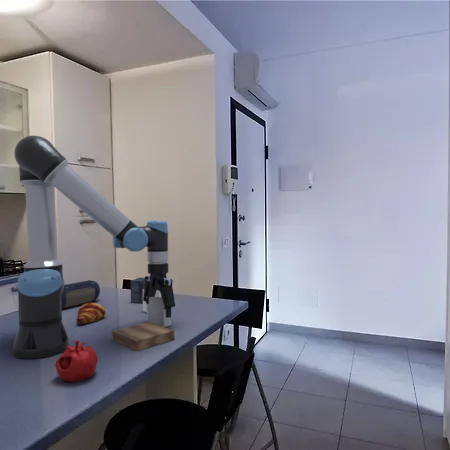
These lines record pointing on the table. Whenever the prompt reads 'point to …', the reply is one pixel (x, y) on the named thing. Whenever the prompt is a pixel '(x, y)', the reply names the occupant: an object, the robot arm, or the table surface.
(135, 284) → the box
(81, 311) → the croissant
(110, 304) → the table surface
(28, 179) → the robot arm
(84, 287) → the portable speaker
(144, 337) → the pedestal
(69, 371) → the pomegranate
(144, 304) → the jar
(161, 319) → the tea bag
